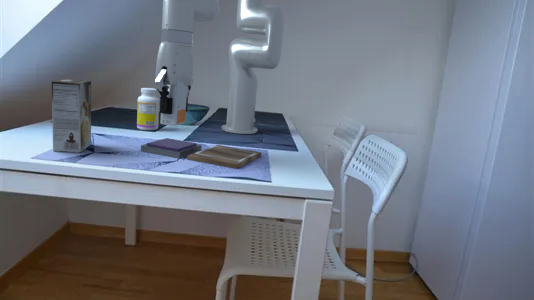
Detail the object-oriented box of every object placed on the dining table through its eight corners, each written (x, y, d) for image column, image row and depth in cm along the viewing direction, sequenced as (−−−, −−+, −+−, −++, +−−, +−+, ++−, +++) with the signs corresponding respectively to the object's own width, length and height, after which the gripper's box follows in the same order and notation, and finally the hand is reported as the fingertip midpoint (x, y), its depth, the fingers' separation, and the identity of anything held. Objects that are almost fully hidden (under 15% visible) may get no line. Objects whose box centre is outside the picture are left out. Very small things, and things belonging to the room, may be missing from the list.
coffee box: (64, 143, 102) (64, 78, 99) (91, 144, 103) (92, 80, 100) (51, 151, 93) (50, 80, 90) (81, 153, 95) (81, 83, 91)
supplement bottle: (145, 126, 135) (146, 87, 132) (162, 129, 133) (164, 89, 130) (132, 128, 129) (133, 87, 126) (150, 131, 127) (151, 90, 124)
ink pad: (165, 144, 112) (165, 137, 111) (201, 150, 108) (201, 143, 108) (140, 151, 102) (140, 143, 101) (179, 158, 98) (179, 150, 98)
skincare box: (176, 126, 100) (178, 77, 98) (159, 124, 101) (162, 75, 99) (185, 123, 106) (188, 76, 104) (170, 121, 107) (172, 75, 104)
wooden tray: (217, 148, 113) (217, 144, 113) (261, 156, 109) (261, 151, 109) (187, 159, 98) (187, 154, 98) (237, 168, 94) (237, 163, 94)
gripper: (182, 40, 108) (179, 108, 112) (142, 34, 92) (139, 113, 96) (207, 43, 106) (203, 111, 110) (171, 37, 90) (167, 117, 94)
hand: (173, 111), depth 103 cm, fingers closed on skincare box, 6 cm apart
